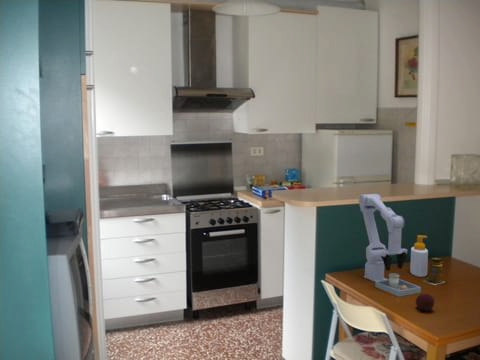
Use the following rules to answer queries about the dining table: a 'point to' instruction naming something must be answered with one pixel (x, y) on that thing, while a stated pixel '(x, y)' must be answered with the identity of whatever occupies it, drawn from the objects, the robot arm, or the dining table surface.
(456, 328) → the dining table surface
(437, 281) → the condiment
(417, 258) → the soap bottle
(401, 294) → the tray
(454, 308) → the dining table surface
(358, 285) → the dining table surface
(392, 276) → the shaker
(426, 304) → the dark purple sphere
